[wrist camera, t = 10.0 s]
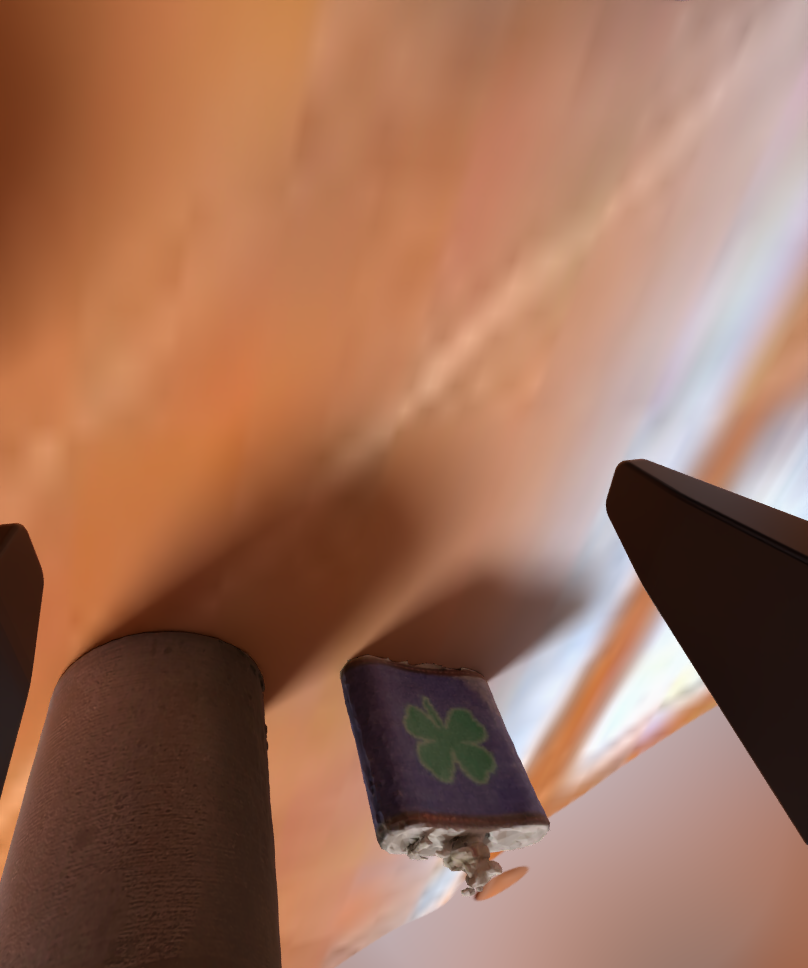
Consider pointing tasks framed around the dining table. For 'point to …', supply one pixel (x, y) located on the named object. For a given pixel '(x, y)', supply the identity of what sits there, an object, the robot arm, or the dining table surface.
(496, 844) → the flask
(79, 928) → the pillar candle
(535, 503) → the dining table surface
